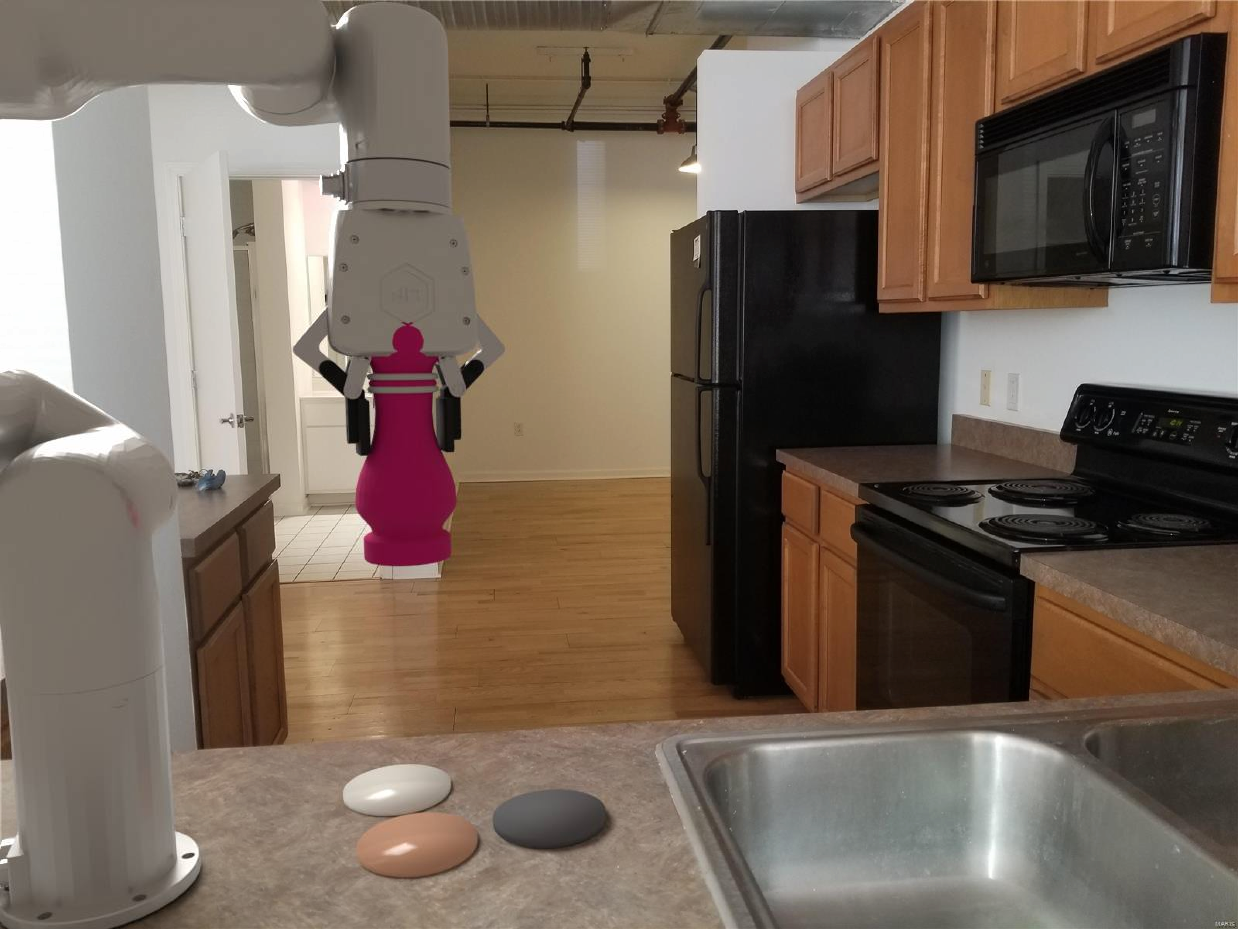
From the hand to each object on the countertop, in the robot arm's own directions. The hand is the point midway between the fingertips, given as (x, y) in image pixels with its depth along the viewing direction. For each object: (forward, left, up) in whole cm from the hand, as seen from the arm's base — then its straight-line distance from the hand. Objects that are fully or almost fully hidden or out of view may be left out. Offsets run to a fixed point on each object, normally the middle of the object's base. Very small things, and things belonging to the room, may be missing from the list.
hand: (405, 449), depth 70 cm
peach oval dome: (0, 0, -31) cm, 31 cm away
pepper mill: (0, 0, -8) cm, 8 cm away
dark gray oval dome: (+11, 0, -30) cm, 32 cm away
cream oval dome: (0, +10, -31) cm, 32 cm away
